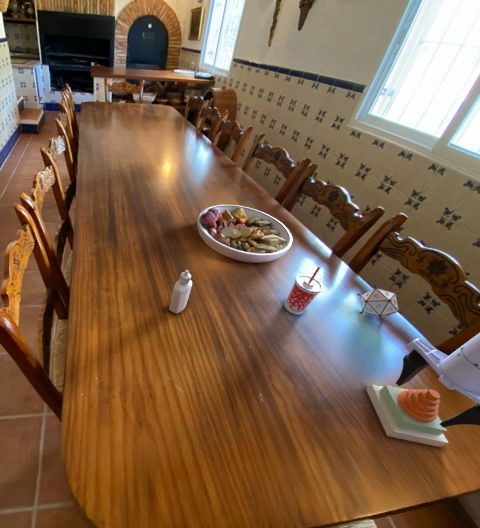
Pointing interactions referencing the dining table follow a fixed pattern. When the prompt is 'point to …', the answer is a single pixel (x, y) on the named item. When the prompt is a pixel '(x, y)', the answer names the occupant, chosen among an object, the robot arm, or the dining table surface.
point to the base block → (392, 428)
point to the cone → (420, 404)
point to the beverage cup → (303, 293)
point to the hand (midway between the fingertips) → (421, 402)
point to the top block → (403, 418)
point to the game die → (379, 303)
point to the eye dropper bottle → (181, 292)
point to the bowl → (243, 233)
